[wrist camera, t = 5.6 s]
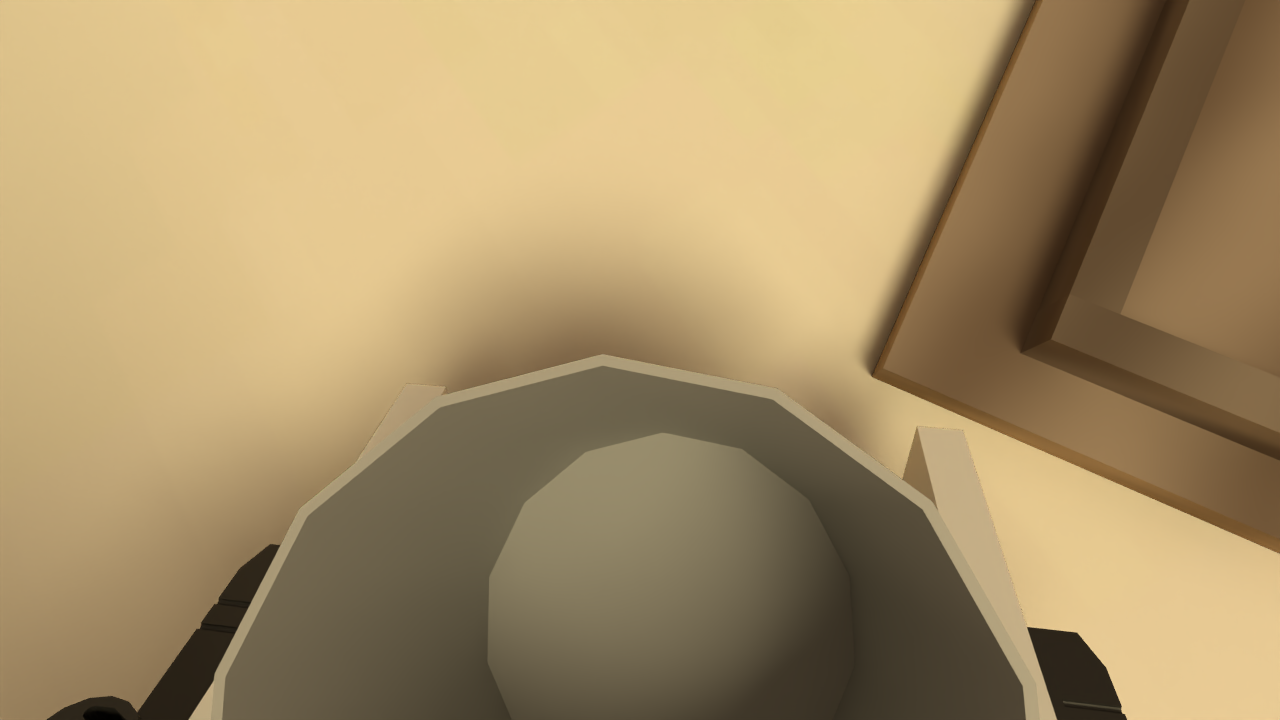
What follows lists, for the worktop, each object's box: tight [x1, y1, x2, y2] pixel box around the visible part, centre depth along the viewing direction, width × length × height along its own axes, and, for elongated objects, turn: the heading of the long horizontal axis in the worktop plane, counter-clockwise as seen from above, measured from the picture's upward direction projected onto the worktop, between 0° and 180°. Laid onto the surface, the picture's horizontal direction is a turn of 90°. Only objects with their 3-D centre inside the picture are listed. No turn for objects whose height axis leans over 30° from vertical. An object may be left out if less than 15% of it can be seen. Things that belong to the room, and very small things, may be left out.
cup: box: [211, 354, 1040, 720], centre depth 12 cm, size 8×8×10 cm
